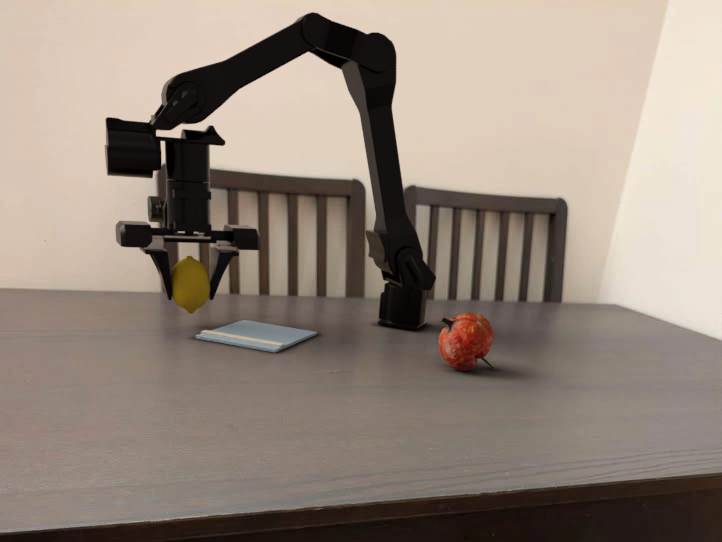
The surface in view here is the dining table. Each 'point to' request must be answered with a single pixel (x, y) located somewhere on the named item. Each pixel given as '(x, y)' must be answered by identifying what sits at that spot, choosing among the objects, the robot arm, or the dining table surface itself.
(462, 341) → the pomegranate
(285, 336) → the towel
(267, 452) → the dining table surface
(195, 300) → the lemon
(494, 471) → the dining table surface
